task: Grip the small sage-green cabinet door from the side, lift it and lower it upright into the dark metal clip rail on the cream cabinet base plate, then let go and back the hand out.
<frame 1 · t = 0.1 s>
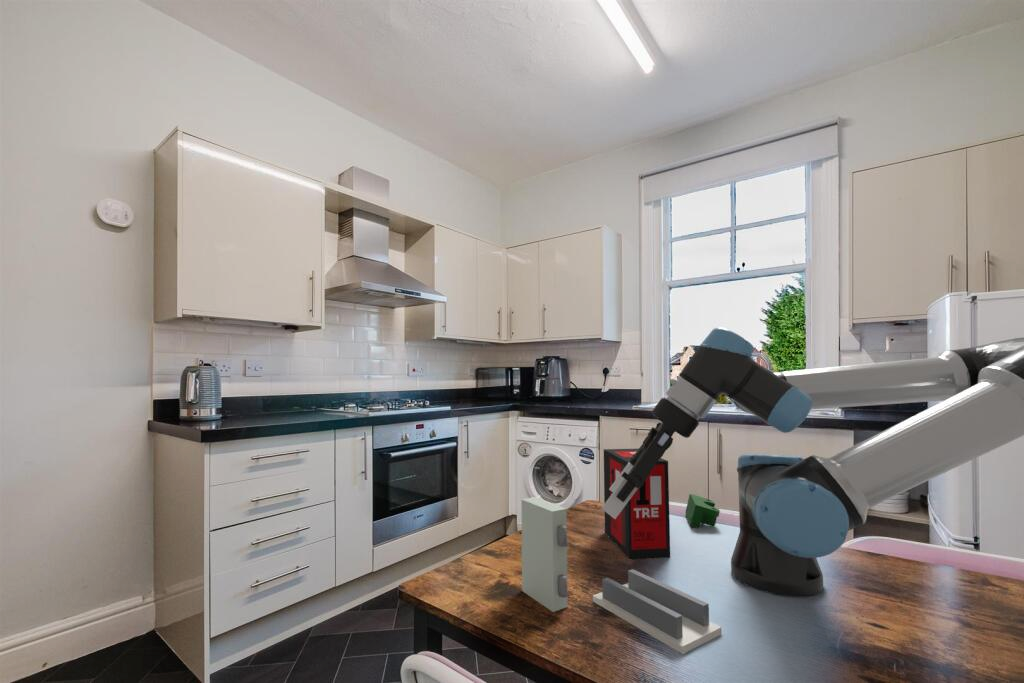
hand: (611, 502, 86), 15 cm above the table, tool tilted 35°, fingers open, 13 cm apart
cleaning product box: (635, 545, 107), on the table
clamp: (702, 523, 122), on the table
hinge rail: (652, 616, 75), on the table
door: (543, 598, 81), on the table
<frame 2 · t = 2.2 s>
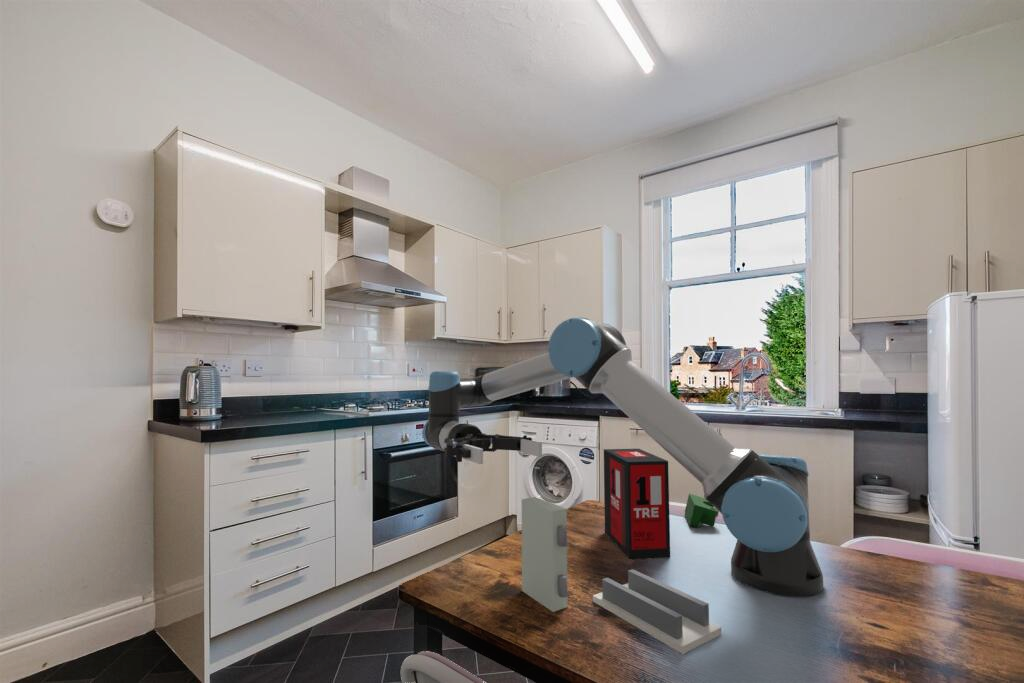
hand: (512, 453, 91), 23 cm above the table, tool horizontal, fingers open, 13 cm apart
nothing on the table moved.
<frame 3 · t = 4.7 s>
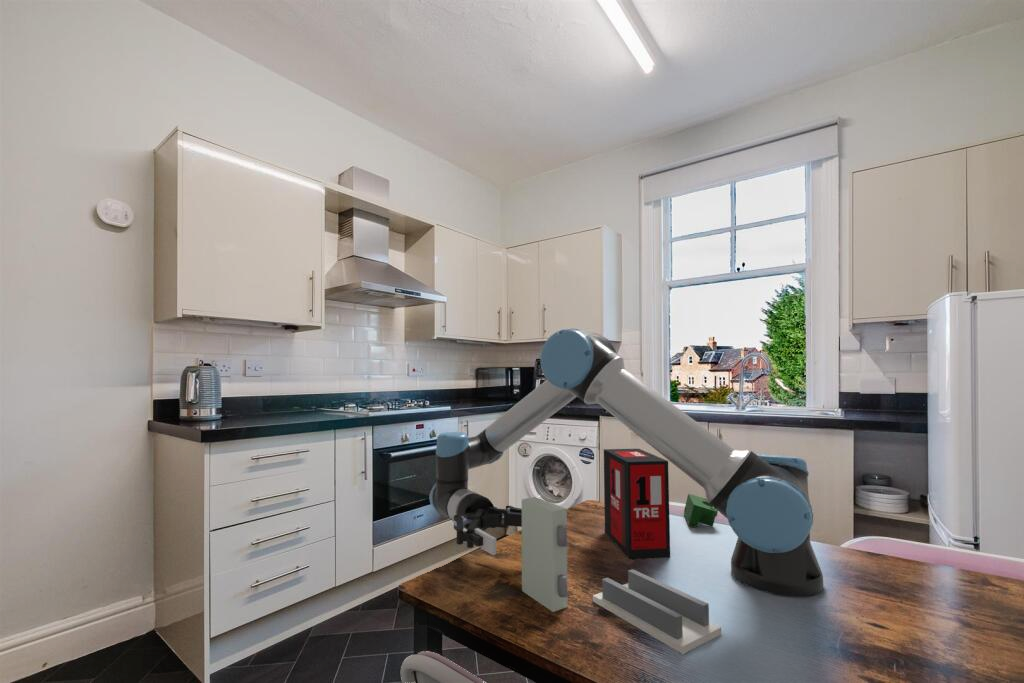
hand: (526, 539, 86), 9 cm above the table, tool horizontal, fingers open, 13 cm apart
nothing on the table moved.
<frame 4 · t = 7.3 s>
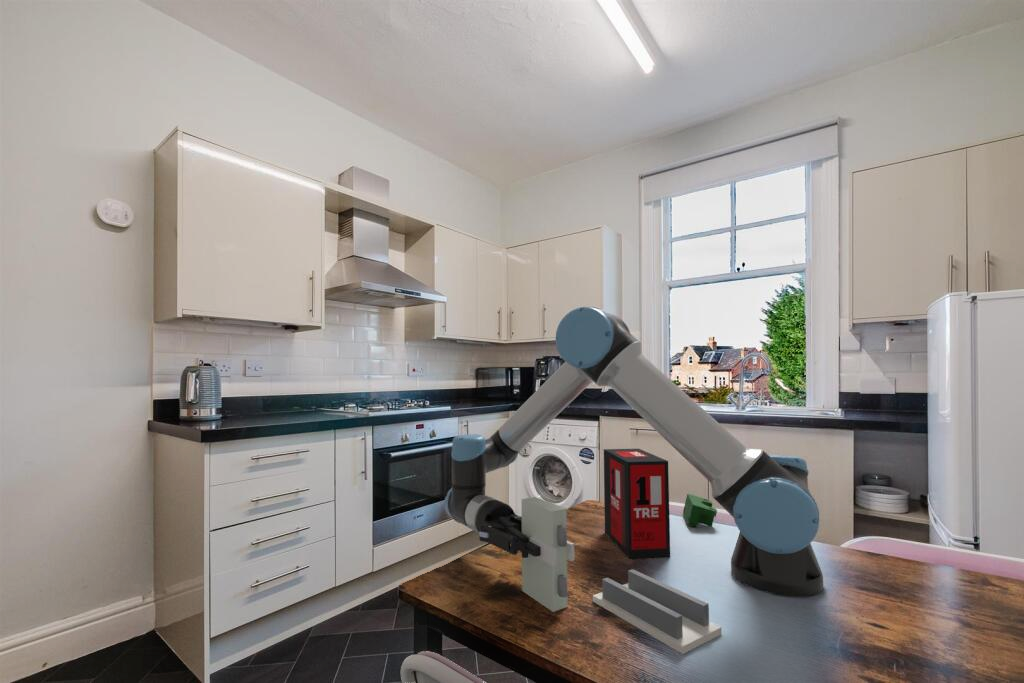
hand: (563, 554, 78), 9 cm above the table, tool horizontal, fingers closed on door, 3 cm apart
door: (543, 598, 81), on the table, touching gripper
everything else where it was.
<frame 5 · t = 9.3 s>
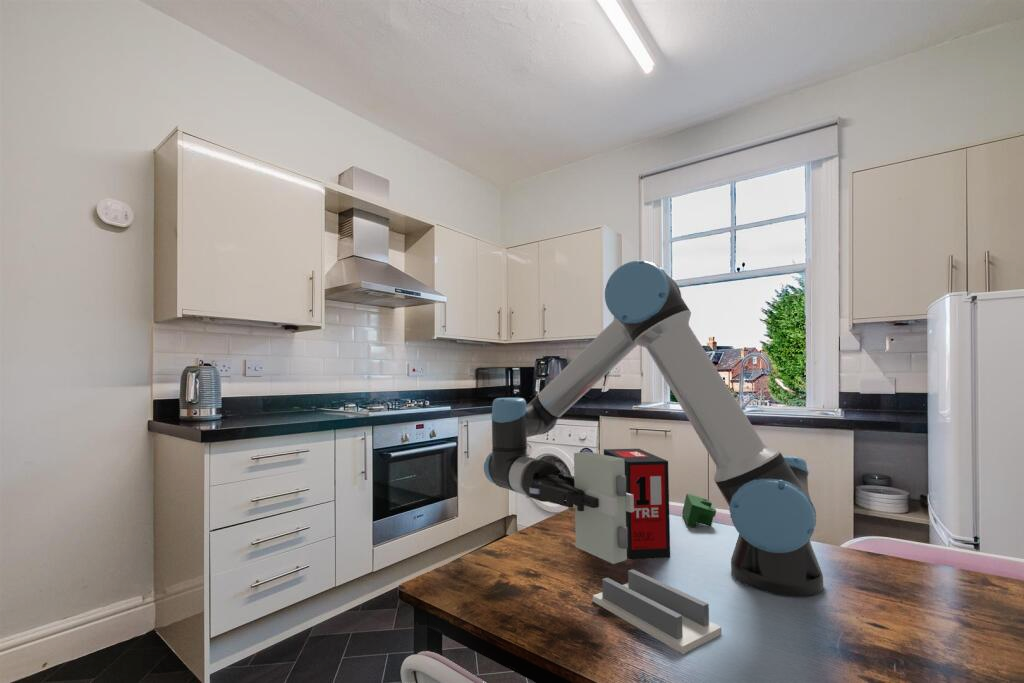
hand: (623, 505, 75), 18 cm above the table, tool horizontal, fingers closed on door, 3 cm apart
door: (600, 553, 79), point 9 cm above the table, touching gripper
everything else where it was.
when the fingers open (11 cm above the table, at t = 11.5 s): door drops 1 cm, resting on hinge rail.
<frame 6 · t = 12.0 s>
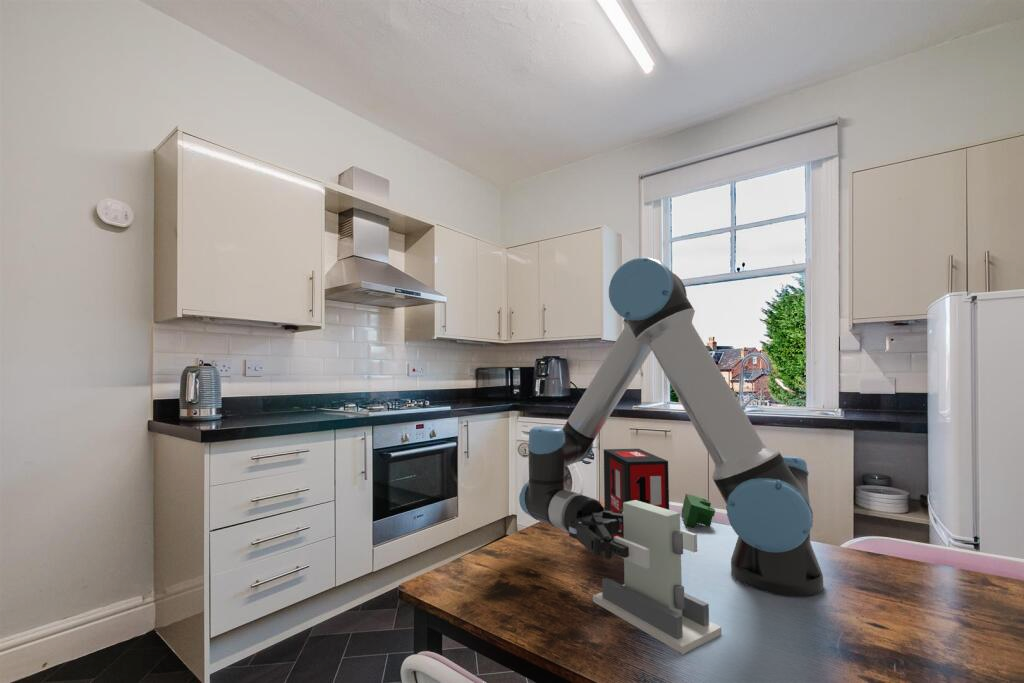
hand: (672, 550, 73), 11 cm above the table, tool horizontal, fingers open, 10 cm apart
door: (652, 610, 75), point 1 cm above the table, touching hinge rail
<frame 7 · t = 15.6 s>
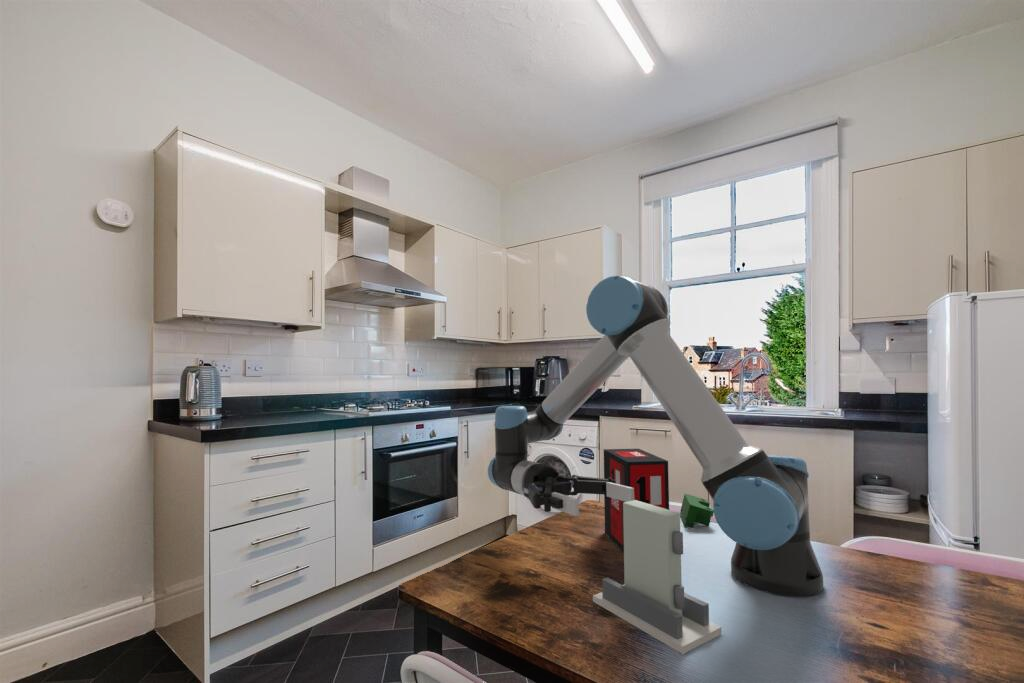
hand: (606, 501, 85), 16 cm above the table, tool horizontal, fingers open, 13 cm apart
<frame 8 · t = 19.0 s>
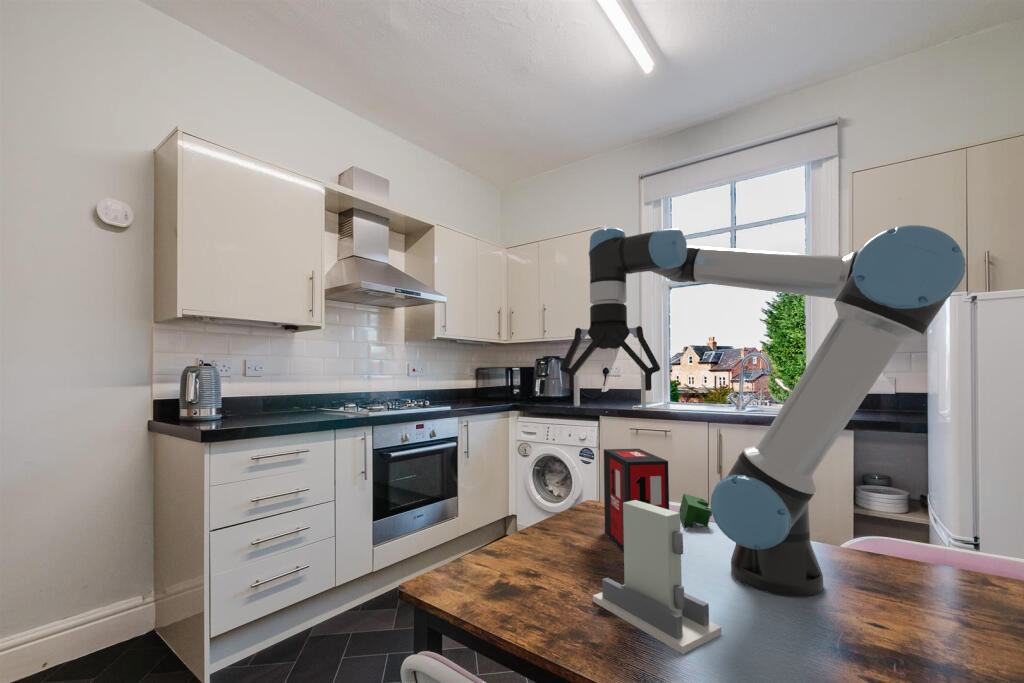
hand: (609, 406, 98), 32 cm above the table, tool pointing down, fingers open, 13 cm apart
at the end: door 0.0 cm off-centre on the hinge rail, point 1.0 cm above the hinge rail's base; door tilted 0°; the gripper is holding nothing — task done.
